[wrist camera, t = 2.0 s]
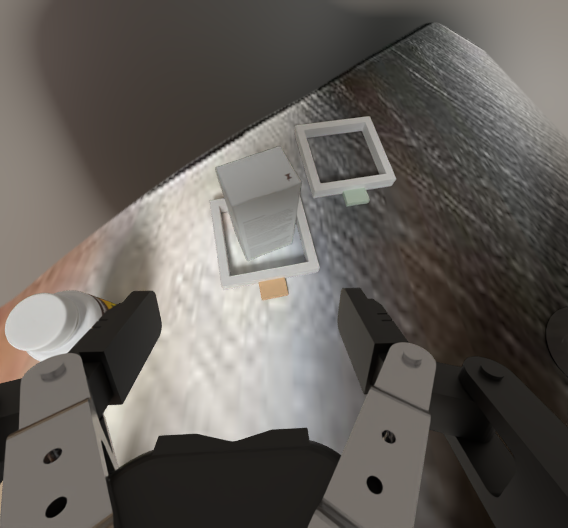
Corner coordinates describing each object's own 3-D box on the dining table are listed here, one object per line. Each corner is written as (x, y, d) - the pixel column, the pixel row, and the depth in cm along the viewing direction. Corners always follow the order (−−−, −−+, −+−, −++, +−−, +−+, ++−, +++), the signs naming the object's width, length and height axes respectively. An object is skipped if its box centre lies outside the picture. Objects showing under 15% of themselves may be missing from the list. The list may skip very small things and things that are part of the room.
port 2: (366, 124, 39) (369, 116, 38) (396, 198, 35) (401, 191, 34) (294, 134, 38) (295, 125, 37) (316, 211, 34) (318, 204, 32)
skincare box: (278, 216, 33) (282, 143, 22) (292, 244, 32) (304, 182, 21) (233, 232, 32) (213, 165, 21) (246, 262, 31) (232, 208, 20)
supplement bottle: (155, 324, 28) (96, 305, 19) (120, 373, 26) (34, 381, 17) (114, 298, 29) (36, 268, 19) (77, 344, 27) (-30, 336, 17)
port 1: (296, 194, 34) (297, 187, 33) (321, 288, 30) (324, 285, 29) (212, 207, 33) (209, 200, 32) (226, 307, 29) (223, 304, 28)
